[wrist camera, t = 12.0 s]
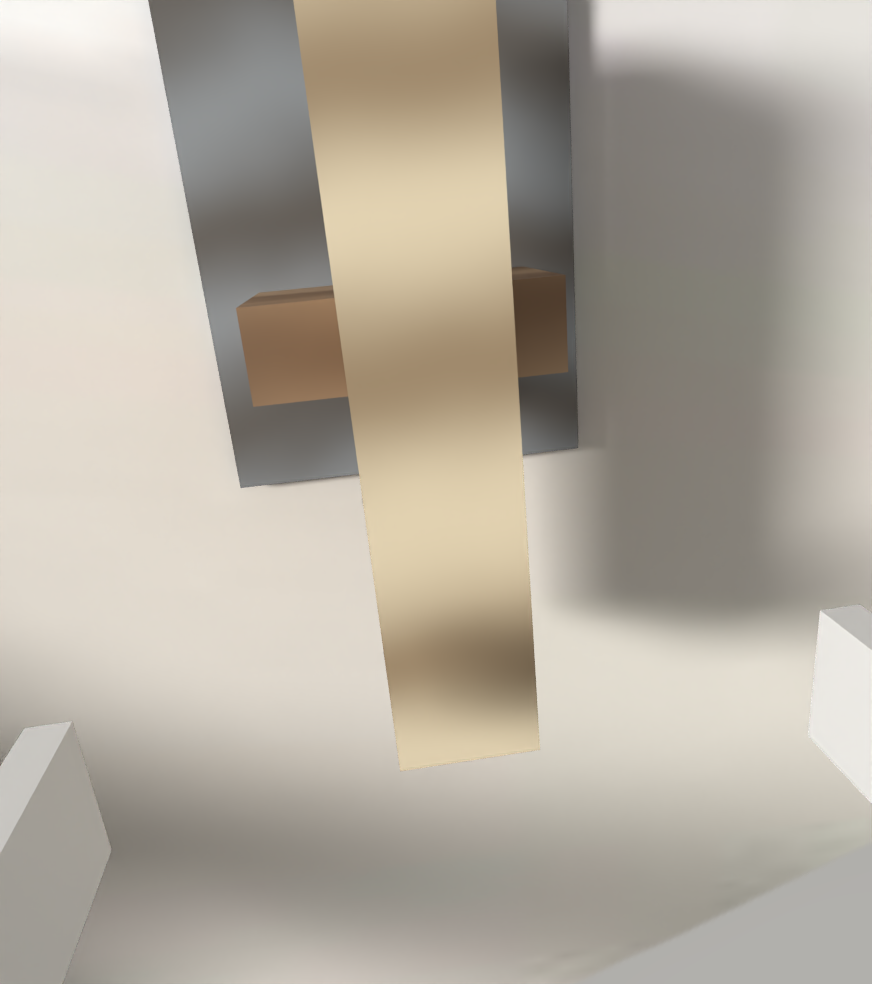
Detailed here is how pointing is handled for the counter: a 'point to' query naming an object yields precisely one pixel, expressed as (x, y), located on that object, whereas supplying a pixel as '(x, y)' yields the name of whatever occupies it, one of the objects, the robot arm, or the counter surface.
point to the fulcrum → (302, 238)
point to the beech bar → (429, 357)
